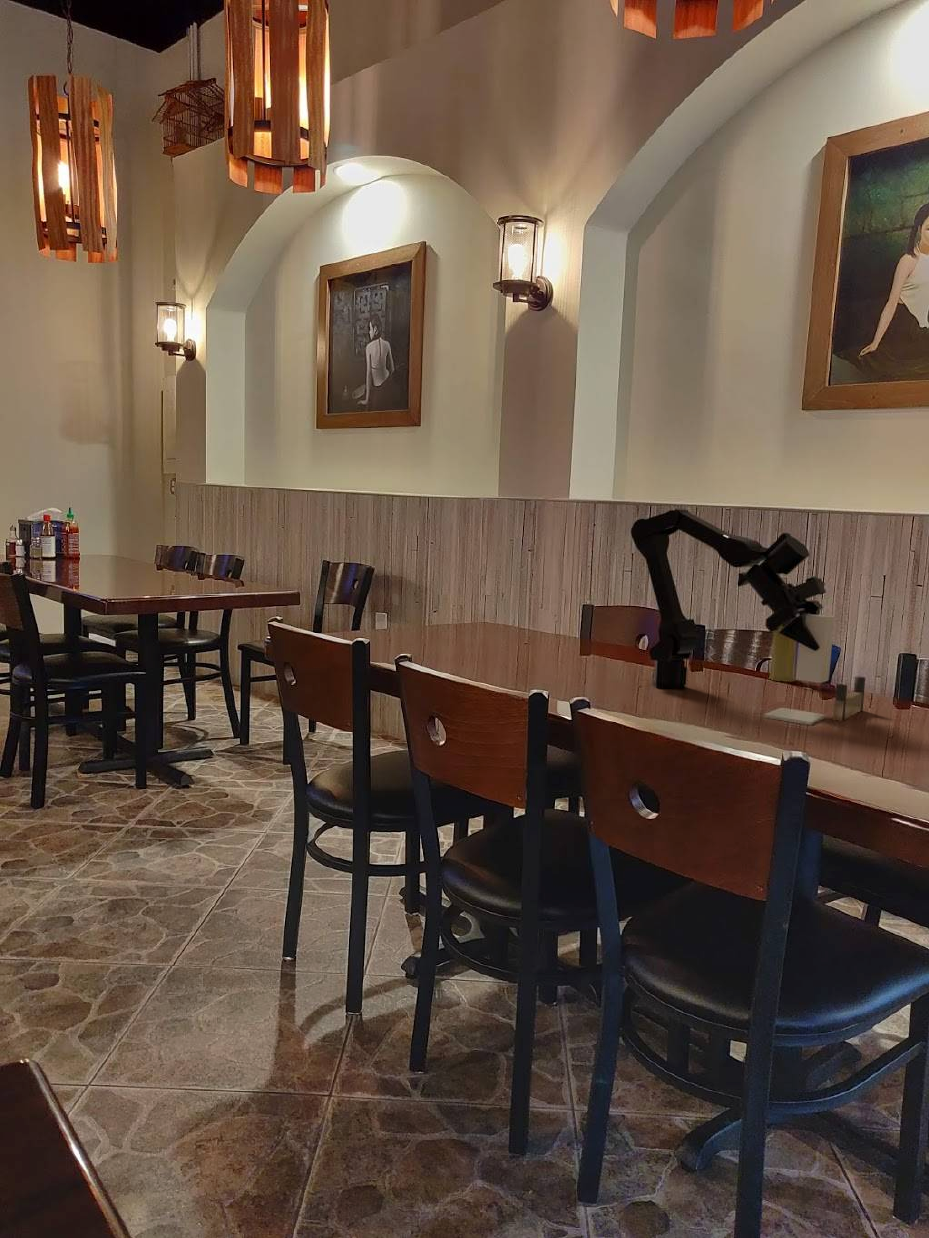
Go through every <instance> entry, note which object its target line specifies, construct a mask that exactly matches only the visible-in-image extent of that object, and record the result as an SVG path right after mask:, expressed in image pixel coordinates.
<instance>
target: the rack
mask: <svg viewBox="0 0 929 1238" xmlns="http://www.w3.org/2000/svg"><path fill="white" fill-rule="evenodd" d="M853 685H854V686H853V691H852V692H850V693H847V692H848V685H847V684H839V683H837V684H836V685H835V686H836V687H835V694H834V695H835V697H834V698H835V699H834V705H833V717H832V718H833V721H836V720H839V721H838V722H844V721H845V720H847V719H849V718H851V717H852V716H851V715H853V714H855V713H857V712H859V713H861V712H860V711H862V712H863V710H864V700H865V686H866V677H864V676H854V684H853ZM857 714H858V713H857ZM855 715H856V714H855ZM850 716H851V717H850ZM853 716H854V715H853ZM848 717H849V718H848ZM846 718H847V719H846ZM844 719H845V720H844Z"/></svg>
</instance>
